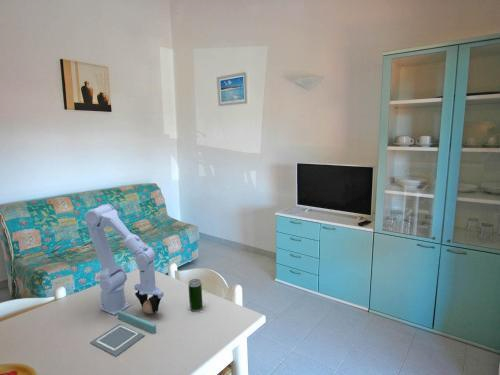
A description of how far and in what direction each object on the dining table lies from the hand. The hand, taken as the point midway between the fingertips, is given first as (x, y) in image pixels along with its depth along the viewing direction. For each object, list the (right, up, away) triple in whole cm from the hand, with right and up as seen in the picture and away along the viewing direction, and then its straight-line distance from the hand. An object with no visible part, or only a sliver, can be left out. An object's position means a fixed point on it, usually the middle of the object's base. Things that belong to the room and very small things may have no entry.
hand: (150, 309), depth 125 cm
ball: (0, -1, 0) cm, 1 cm away
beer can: (+18, -1, +4) cm, 19 cm away
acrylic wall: (-3, -3, -7) cm, 8 cm away
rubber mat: (-7, -5, -15) cm, 17 cm away
